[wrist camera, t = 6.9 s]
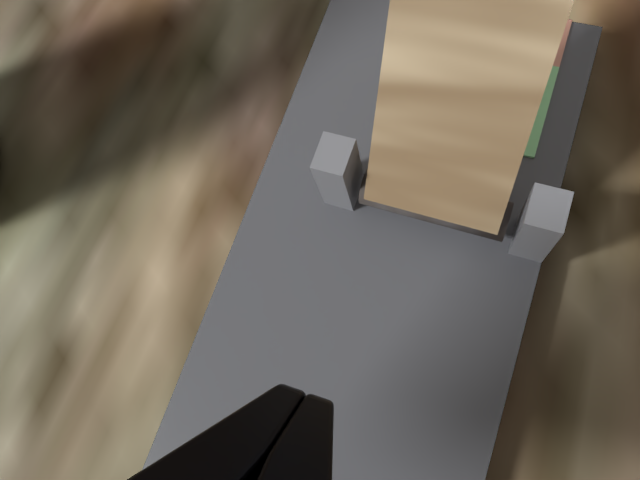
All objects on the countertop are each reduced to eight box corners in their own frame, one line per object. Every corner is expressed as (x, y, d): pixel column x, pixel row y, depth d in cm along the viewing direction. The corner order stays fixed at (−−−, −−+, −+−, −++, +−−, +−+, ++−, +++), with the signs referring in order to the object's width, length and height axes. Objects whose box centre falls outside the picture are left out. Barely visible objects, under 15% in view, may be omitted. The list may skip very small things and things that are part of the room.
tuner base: (432, 662, 15) (437, 733, 12) (134, 523, 18) (63, 548, 14) (593, 45, 20) (631, -37, 17) (341, 0, 22) (326, -80, 19)
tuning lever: (498, 253, 16) (612, -84, 11) (355, 214, 18) (394, -111, 12) (505, 223, 18) (611, -95, 12) (370, 188, 19) (413, -119, 13)
